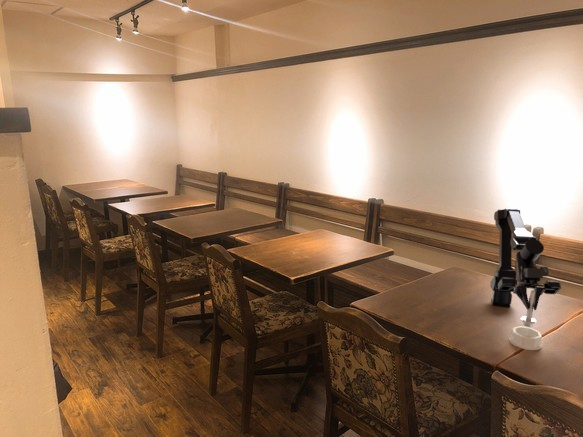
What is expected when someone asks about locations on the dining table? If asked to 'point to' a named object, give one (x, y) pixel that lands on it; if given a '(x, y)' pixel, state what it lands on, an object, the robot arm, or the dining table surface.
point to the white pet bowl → (526, 338)
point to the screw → (529, 312)
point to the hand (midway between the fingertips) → (531, 309)
